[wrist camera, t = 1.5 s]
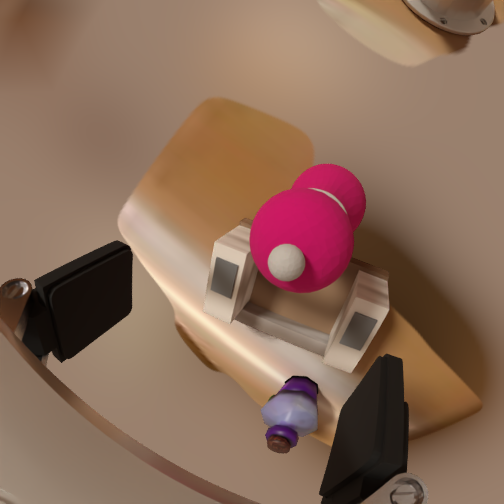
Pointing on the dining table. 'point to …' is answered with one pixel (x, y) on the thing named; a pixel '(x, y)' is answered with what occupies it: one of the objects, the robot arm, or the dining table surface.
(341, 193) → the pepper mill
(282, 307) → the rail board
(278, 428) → the potion bottle
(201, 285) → the dining table surface
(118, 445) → the robot arm
